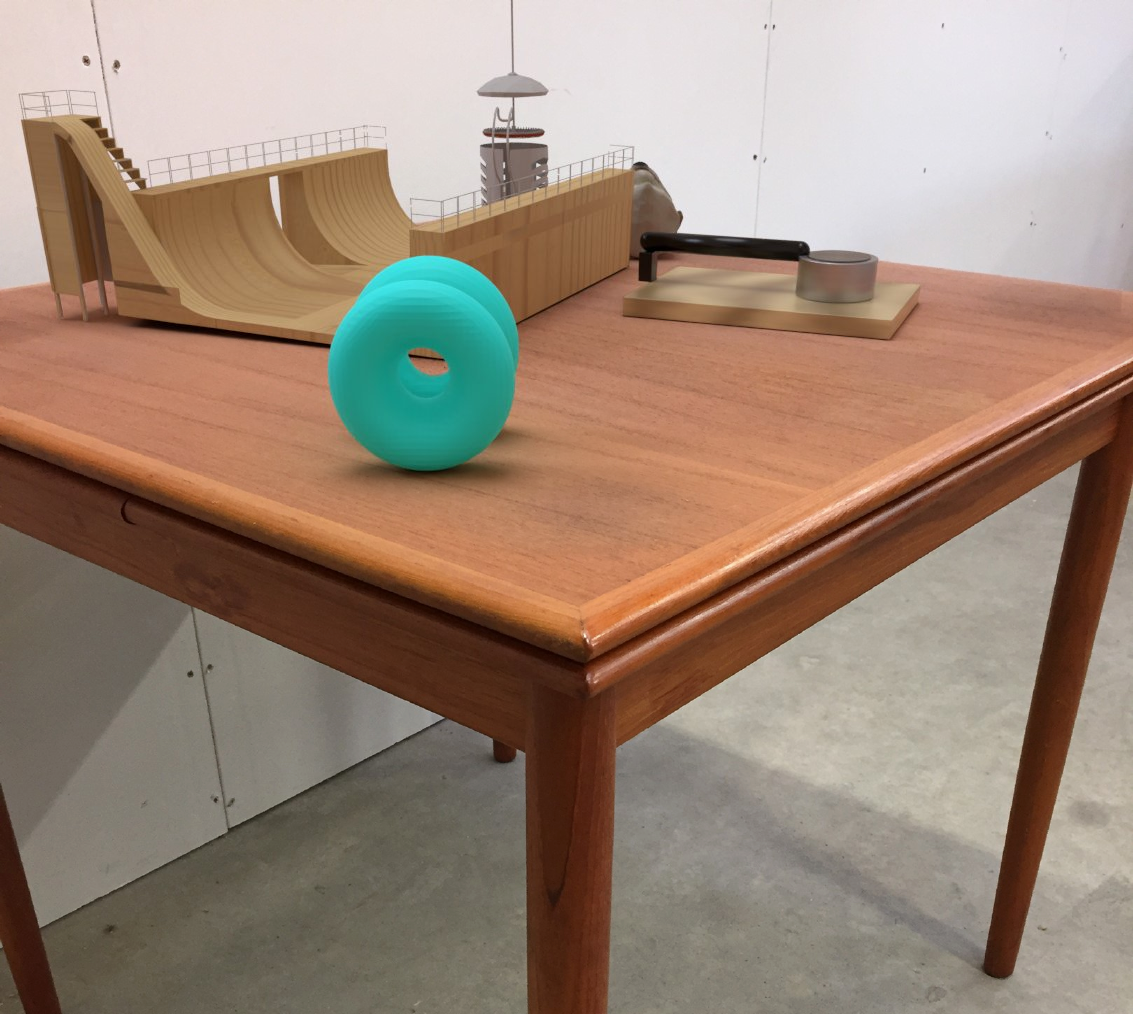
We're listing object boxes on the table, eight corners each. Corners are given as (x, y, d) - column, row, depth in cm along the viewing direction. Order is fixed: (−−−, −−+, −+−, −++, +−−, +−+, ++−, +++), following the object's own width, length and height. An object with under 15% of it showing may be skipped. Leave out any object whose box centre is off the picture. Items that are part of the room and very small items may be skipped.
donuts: (333, 477, 67) (314, 285, 62) (358, 424, 75) (344, 250, 70) (515, 478, 67) (512, 286, 62) (521, 424, 75) (518, 251, 70)
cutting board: (918, 302, 107) (920, 284, 106) (889, 339, 95) (892, 319, 94) (676, 283, 114) (677, 265, 113) (622, 315, 102) (622, 296, 101)
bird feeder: (564, 217, 148) (564, -29, 134) (544, 233, 138) (543, -31, 125) (484, 215, 149) (477, -29, 136) (459, 230, 139) (449, -31, 126)
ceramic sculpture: (593, 164, 117) (581, 157, 131) (591, 261, 122) (580, 245, 135) (703, 165, 118) (680, 158, 131) (698, 261, 122) (676, 245, 135)
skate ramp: (446, 373, 89) (441, 126, 81) (57, 317, 100) (15, 93, 91) (629, 276, 121) (639, 91, 112) (318, 241, 131) (305, 69, 123)
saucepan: (879, 291, 103) (886, 240, 101) (865, 305, 98) (872, 252, 96) (650, 273, 110) (652, 224, 108) (626, 285, 105) (627, 235, 103)
